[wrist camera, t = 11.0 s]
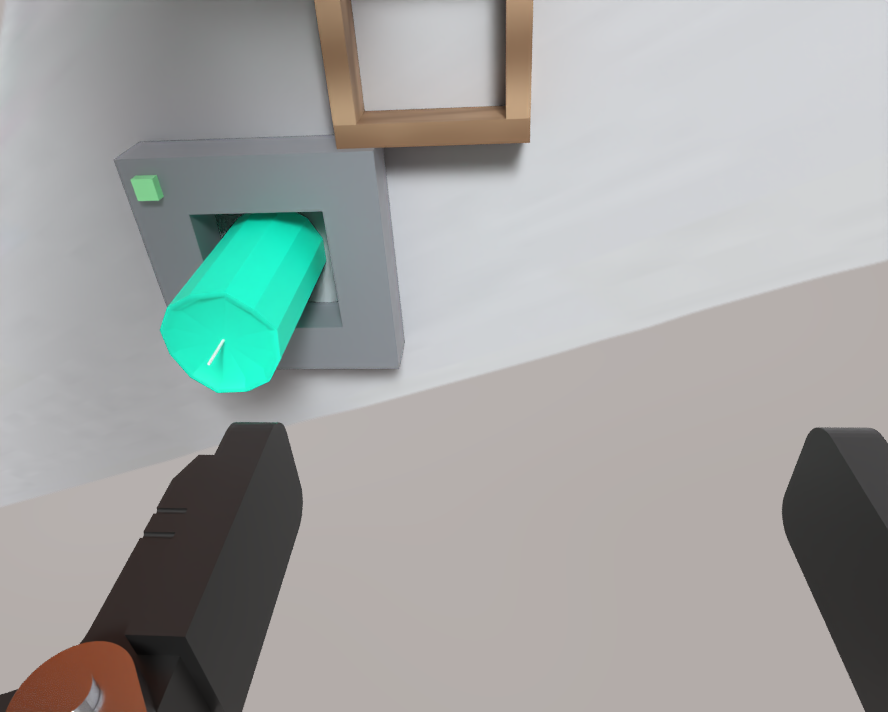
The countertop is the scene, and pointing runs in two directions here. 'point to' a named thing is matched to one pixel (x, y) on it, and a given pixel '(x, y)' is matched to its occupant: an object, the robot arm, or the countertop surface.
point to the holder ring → (423, 124)
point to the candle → (245, 301)
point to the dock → (268, 191)
